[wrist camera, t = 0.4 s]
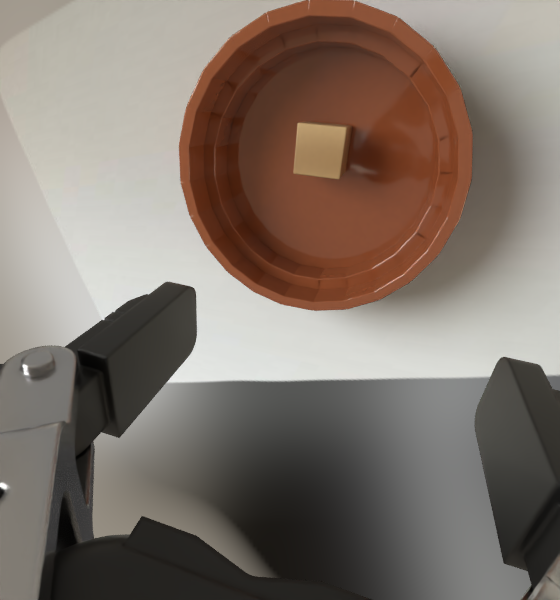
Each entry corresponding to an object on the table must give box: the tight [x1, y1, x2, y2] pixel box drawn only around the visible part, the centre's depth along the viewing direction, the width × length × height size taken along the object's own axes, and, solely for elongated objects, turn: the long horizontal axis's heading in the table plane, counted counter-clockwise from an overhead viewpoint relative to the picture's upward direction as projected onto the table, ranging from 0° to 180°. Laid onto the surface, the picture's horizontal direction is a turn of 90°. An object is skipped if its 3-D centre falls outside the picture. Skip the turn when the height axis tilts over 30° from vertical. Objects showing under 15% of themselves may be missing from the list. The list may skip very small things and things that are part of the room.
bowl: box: [179, 0, 473, 311], centre depth 25 cm, size 17×17×5 cm
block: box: [293, 121, 352, 179], centre depth 25 cm, size 3×3×3 cm
